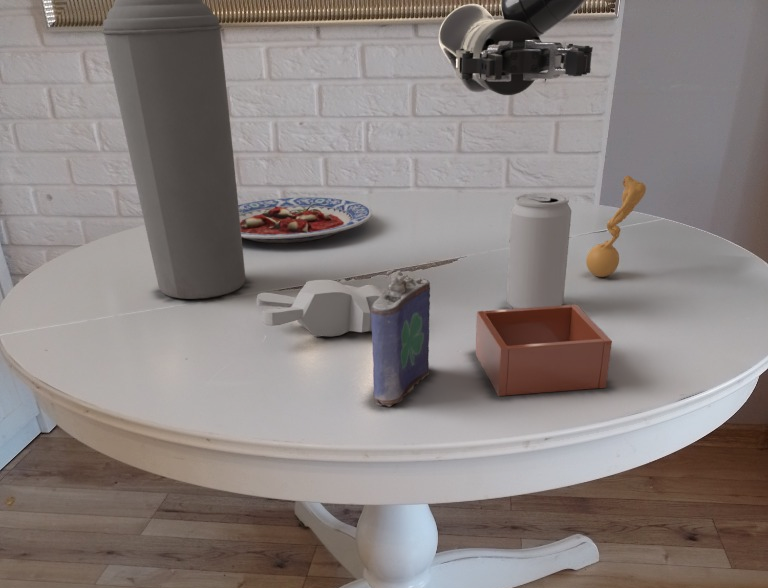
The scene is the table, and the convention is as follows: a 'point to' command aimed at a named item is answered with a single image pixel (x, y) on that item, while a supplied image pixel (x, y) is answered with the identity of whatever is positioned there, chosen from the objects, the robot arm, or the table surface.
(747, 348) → the table surface
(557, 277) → the beverage can
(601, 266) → the figurine
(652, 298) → the table surface
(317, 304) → the bunny figurine
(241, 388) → the table surface
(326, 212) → the ceramic plate
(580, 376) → the box
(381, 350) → the flask
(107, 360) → the table surface
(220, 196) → the canister
